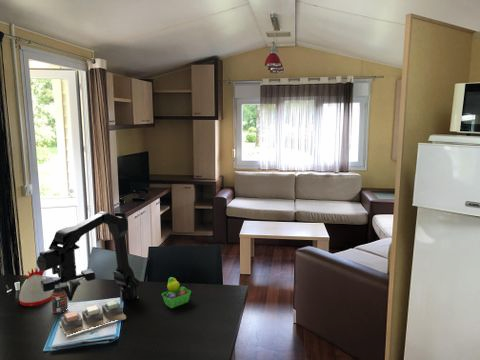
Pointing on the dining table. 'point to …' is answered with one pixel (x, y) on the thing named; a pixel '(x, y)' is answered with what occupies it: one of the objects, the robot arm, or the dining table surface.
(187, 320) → the dining table surface
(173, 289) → the fruit basket
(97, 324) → the button panel
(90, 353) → the dining table surface
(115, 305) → the button sage
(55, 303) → the supplement bottle
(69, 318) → the button terracotta
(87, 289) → the dining table surface
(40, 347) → the dining table surface
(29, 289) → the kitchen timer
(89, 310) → the button cream
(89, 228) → the robot arm
